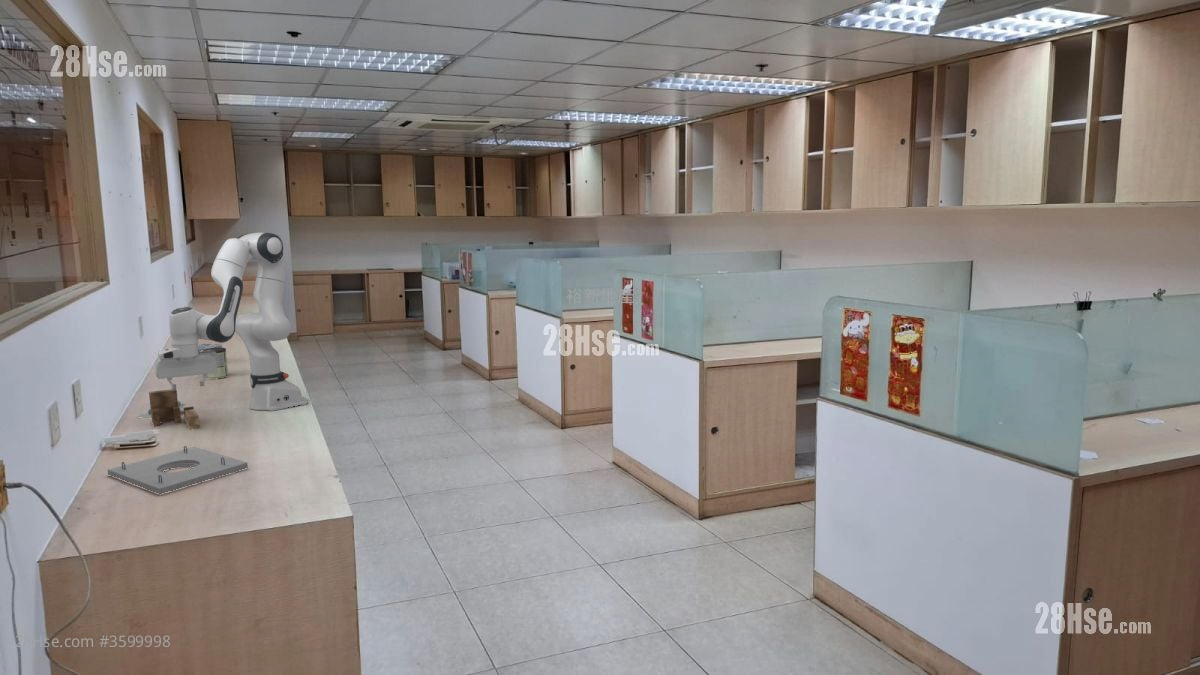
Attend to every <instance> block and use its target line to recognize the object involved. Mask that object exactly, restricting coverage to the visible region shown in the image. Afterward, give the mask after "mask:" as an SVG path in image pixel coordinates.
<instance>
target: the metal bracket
mask: <svg viewBox="0 0 1200 675" xmlns="http://www.w3.org/2000/svg"><path fill="white" fill-rule="evenodd" d="M186 405H187V404H186V403H185V402H181V401H180V400H178V406H179V408H180V409H182V408H184V406H186ZM137 417H143V418H151V408H149V409H148V410H147V413H140V414H139V415H137Z"/></svg>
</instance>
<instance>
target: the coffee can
mask: <svg viewBox="0 0 1200 675" xmlns="http://www.w3.org/2000/svg"><path fill="white" fill-rule="evenodd" d="M208 349H212V350H214V351H216V353H217V359H216V364H217V372H216V373H212V374H207V378H208V379H216V378H223V379H225V378H224V377H227V376H228V377H229V372H228V361H227V360H228V359H227V348H225V347H222V348H208ZM208 349H204V350H208ZM214 351H212V352H214ZM204 353H205V352H204ZM228 377H227V378H228ZM208 379H207V380H208ZM216 380H217V379H216Z"/></svg>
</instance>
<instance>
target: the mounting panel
mask: <svg viewBox="0 0 1200 675" xmlns="http://www.w3.org/2000/svg"><path fill="white" fill-rule="evenodd" d="M248 464H249V463H248V461H244V460H239V459H236V458H233V457H229V456H227V455H223V454H220V453H216V452H212V451H210V450H207V449H205V448H200V447H196V446H193V447H187V445H184V446H183V449H181V450H178V451H174V452H169V453H166V454H162V455H158V456H154V457H150V458H147V459H142V460H138V461H136V462H135V461H134V462H131V463H128V464H126V463H125V462H124V461H123V462H121V465H119V466H116V467H112V468H108V469H107V475H111V476H114V477H117V478H120V479H122V480H125V481H127V482H130V483H132V484H135V485H138V486H140V487H143V488H145V489H147V490H150V491H153V492H156V493H159V494H162V493H165V492H168V491H173V490H176V489H179V488H182V487H185V486H189V485H192V484H195V483H199V482H202V481H205V480H208V479H212V478H216V477H219V476H222V475H226V474H229V473H233V472H236V471H239V470H242V469H245V468H248V469H249V466H248ZM190 466H191V467H194V468H189V469H185V470H181V471H171V472H169V471H166V472H163V471H164V470H167V469H171V468H177V467H190ZM177 469H178V468H177ZM236 473H237V472H236ZM233 474H234V473H233Z"/></svg>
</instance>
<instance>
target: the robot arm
mask: <svg viewBox="0 0 1200 675" xmlns="http://www.w3.org/2000/svg"><path fill="white" fill-rule="evenodd" d="M283 255H284V243H283V240H282V239H281V237H280V236H278V235H277V234H275V233H272V232H254V233H253V232H252V233H244V234H241V235H239V236H237V238H234V237H232V238H231V237H230V238H228V239H227V240H225V241H224V243H223V244H222V246H221V247H220V249H219V250H218V252H217V254H216V257H215V259H214V261H213V263H212V264H213V265H212V267H211V271H210V272H211V273H210V274H211V278H212V280H213V281H214V282H215V284H217V286H219V287H220V288H221V289H222V291H223V296H222V299H221V300H222V301H221V302H220V303H221V304H220V308H219V310H218V313H217V314H215V315H214V314H206V313H203V312H200V311H198V310H195V309H194V308H193V307H191V306H184V307H179V308H176V309H173V310H172V311H171V313H170V314H169V334H170V336H171V341H170V347H168V348H165V349H163V350H160V351H158V352H157V356H158V359H156V362H155V377H156V378H157V379H158V380H164V379H166V380H167V382H168V383H169V384H170V387H171V388H170V389H172V390H173V389H176V390H177V384H176V383H173V382H172V381H173V379H174V378H180V377H181V378H182V377H192V376H193V377H194V376H202V377H203V378H202V380H200V381H199V386H200V387H205V386H206V385H205V382H206V381H207V380H208V379H207V374H212V373H216V372H217V364H216V359H217V353H216V351H214V350H212V349H208V350H199V348H198V345H199V340H205V341H212V342H216V343H219V344H223V343H226V342H228V341H230V340H231V339H232V338H233V336H234V335H235V334H237V336H239V337H240V338H241V340H242V341H243V343H244V345H245V348H246V350H247V353H248V356H249V364H250V374H249V376H250V377H249V379H250V380H249V381H250V382H249V384H250V387H251V396H250V404H249V409H250V410H255V411H272V412H273V411H278V410H284V409H289V408H294V407H293V406H295V407H299V406H298V405H300V406H305V405H307V404H308V403H309V400H308V398H306V397H304V396H302V395H303V394H302V391H301V389H300V388H299V387H298V386H297V385H295V384H293V383H292V382H290V381H289V380H287V379H288V378H289V376H290V375H289V373H287V372H284V371H282V370H281V363H280V354H279V352H278V351H277V349H275V347H274V346H273V345H272V342H276V341H282V340H285V339H287V338H288V337H289V335H290V333H291V331H292V324H291V322H290V320H289V319H288V318H287V316H286V314H285V312H284V305H283V299H284V298H283V297H284V292H285V285H286V278H287V262H286V259H285V257H283ZM251 260H252V261H256V262H257V268H258V269H257V273H256V278H255V284H254V289H253V294H252V296H253V299H254V301H256V302H257V303H258V308H259V312H247V313H242V314H239V315H238V312H239V307H240V304H241V300H242V296H243V289H244V283H243V276H244V274H245V270H246V268H247V264H248V263H249V261H251ZM237 315H238V316H237ZM212 351H214V352H212ZM204 352H205V353H204ZM288 407H289V408H288Z"/></svg>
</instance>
